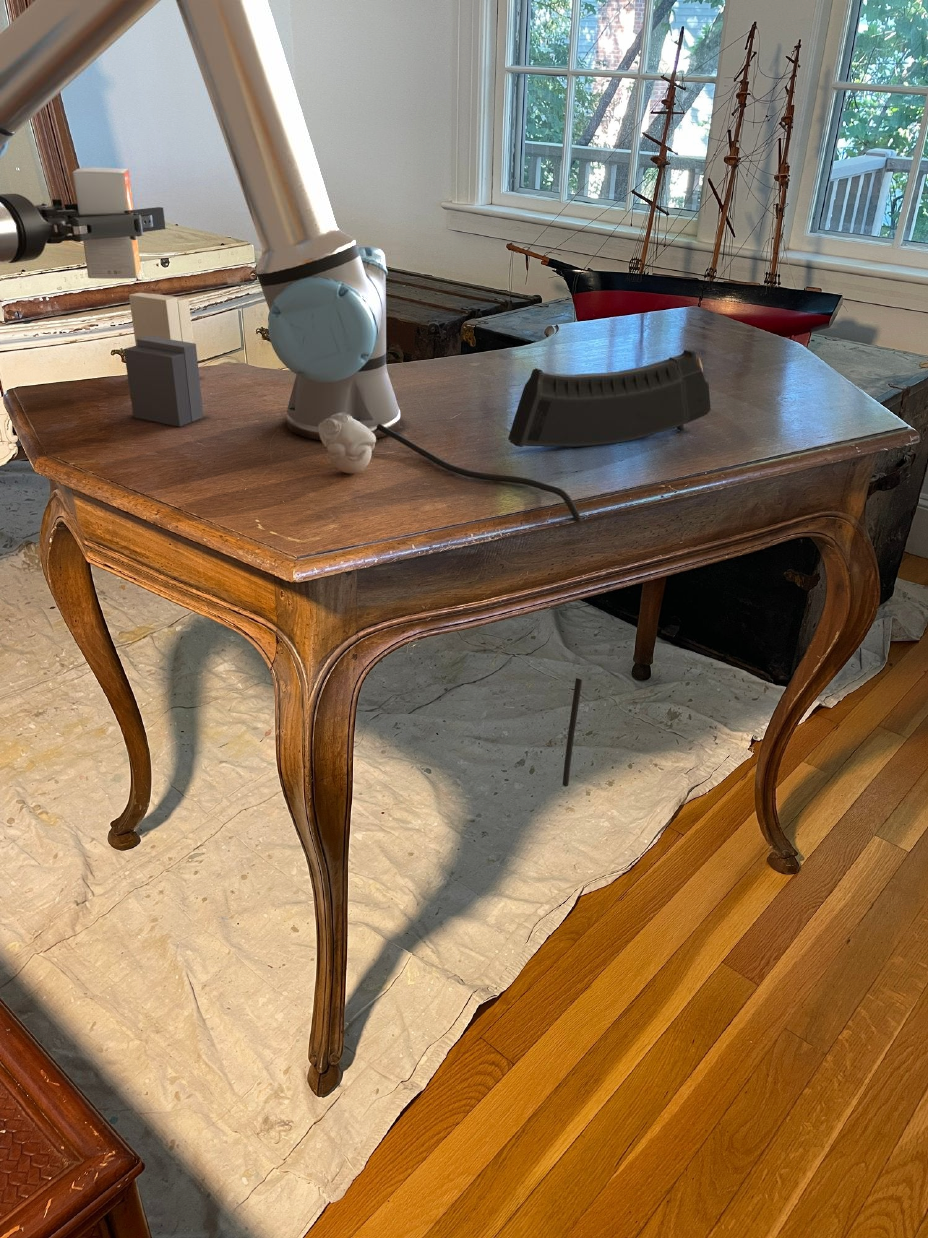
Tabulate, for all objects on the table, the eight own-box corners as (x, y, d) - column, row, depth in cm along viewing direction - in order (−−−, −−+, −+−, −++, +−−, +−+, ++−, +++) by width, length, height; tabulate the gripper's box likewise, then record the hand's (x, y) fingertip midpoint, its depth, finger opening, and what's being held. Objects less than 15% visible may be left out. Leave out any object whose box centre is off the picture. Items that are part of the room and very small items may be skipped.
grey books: (203, 417, 126) (195, 343, 121) (179, 426, 122) (170, 350, 117) (158, 408, 129) (148, 335, 124) (133, 417, 125) (122, 342, 120)
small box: (137, 279, 123) (123, 171, 117) (87, 279, 122) (70, 170, 116) (142, 269, 130) (129, 167, 124) (94, 269, 129) (79, 166, 123)
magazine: (506, 388, 111) (704, 301, 118) (493, 381, 114) (688, 296, 121) (532, 508, 121) (713, 421, 129) (520, 499, 124) (698, 414, 131)
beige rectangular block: (197, 378, 143) (188, 294, 137) (176, 385, 139) (165, 300, 133) (162, 372, 145) (151, 289, 139) (140, 379, 141) (128, 294, 135)
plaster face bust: (331, 459, 113) (329, 404, 110) (384, 467, 112) (384, 410, 108) (311, 476, 108) (308, 418, 105) (367, 484, 107) (366, 425, 103)
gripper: (-61, 254, 114) (76, 236, 132) (74, 273, 107) (200, 251, 124) (-76, 187, 111) (67, 178, 128) (63, 202, 103) (194, 190, 121)
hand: (132, 214), depth 126 cm, fingers closed on small box, 10 cm apart
